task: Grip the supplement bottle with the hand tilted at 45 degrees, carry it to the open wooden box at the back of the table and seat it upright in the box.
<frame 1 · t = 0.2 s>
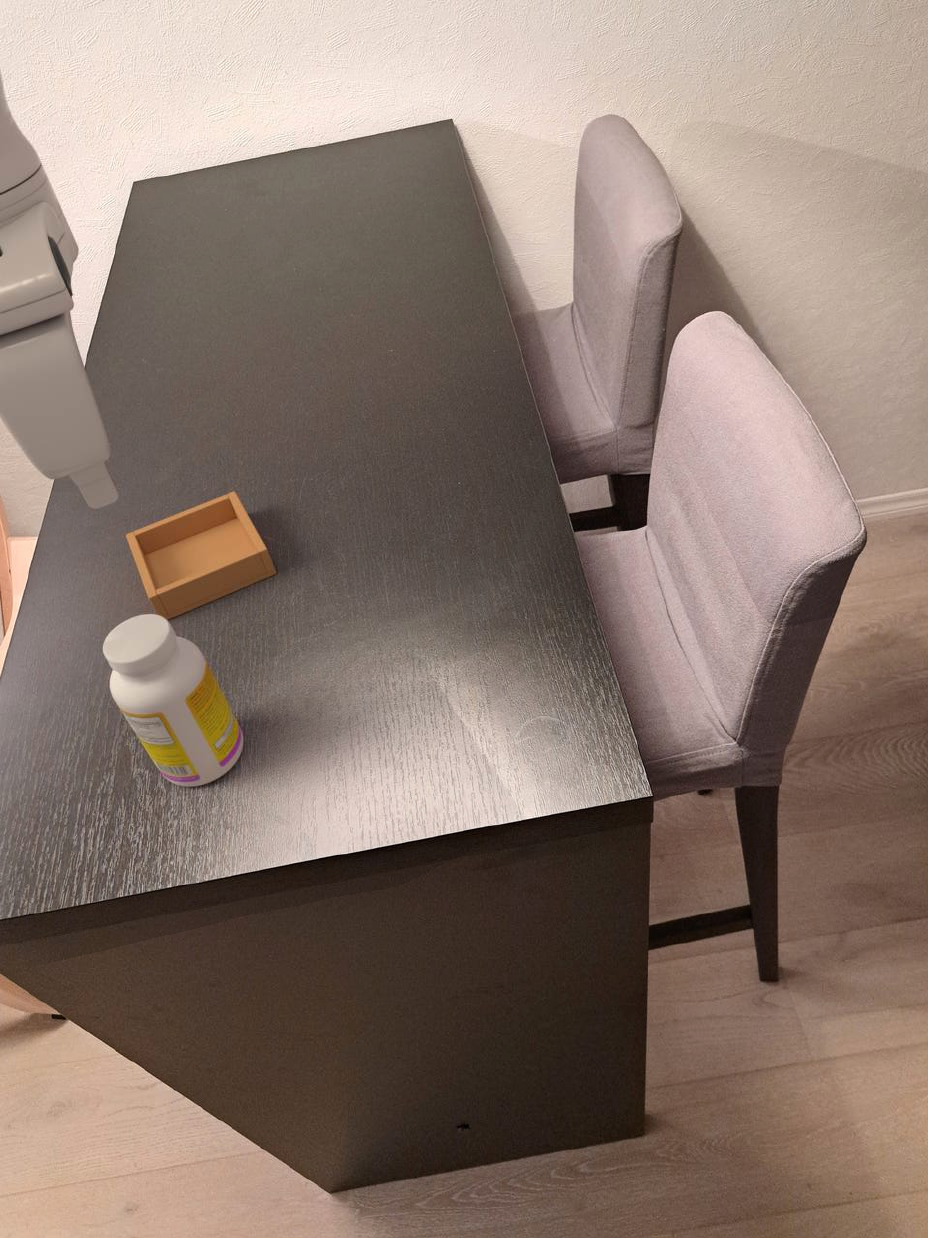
hand: (93, 462, 59), 24 cm above the table, tool pointing down, fingers open, 8 cm apart
open wooden box: (205, 565, 90), on the table
supplement bottle: (204, 756, 72), on the table
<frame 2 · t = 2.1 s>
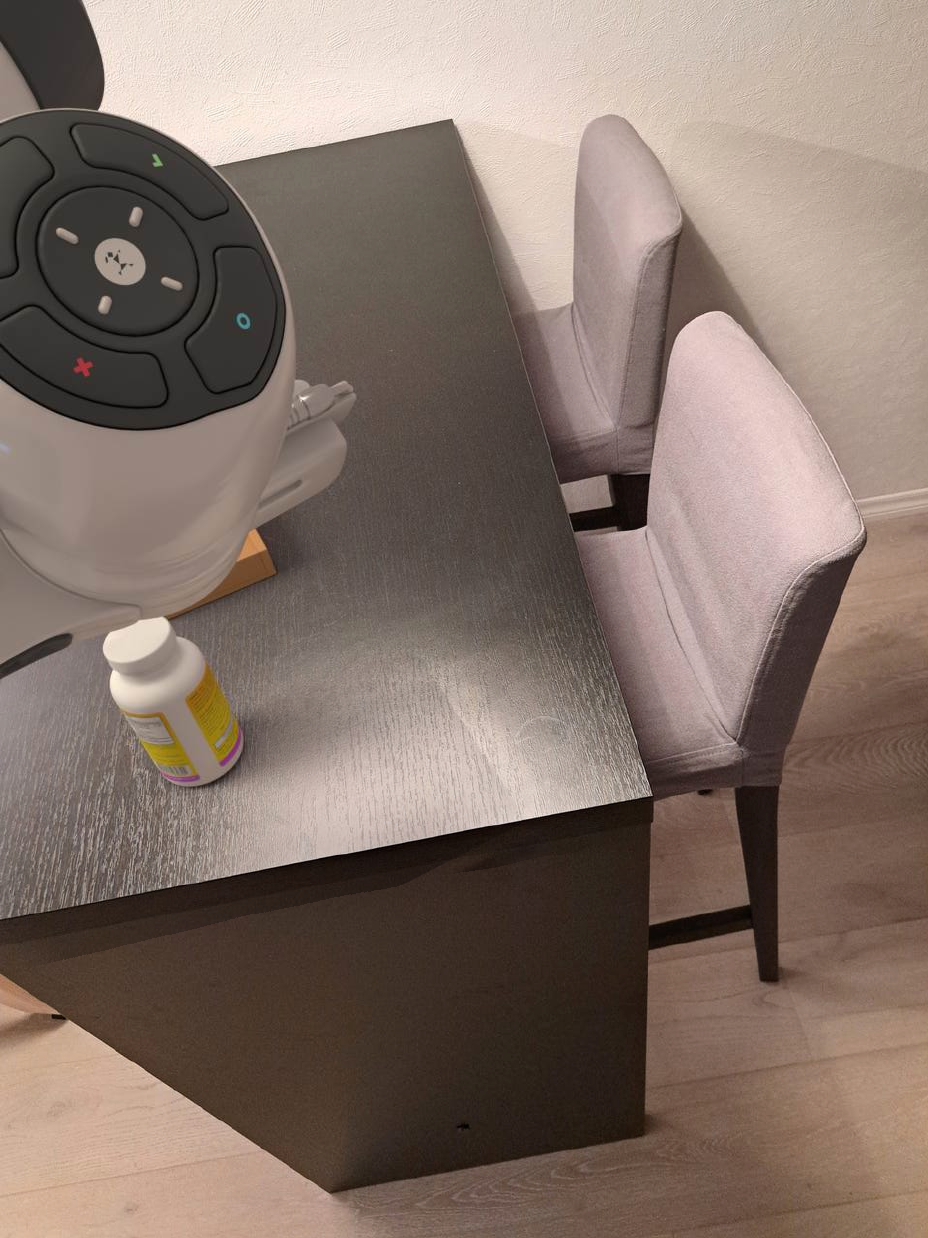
hand: (133, 577, 47), 25 cm above the table, tool tilted 45°, fingers open, 8 cm apart
nothing on the table moved.
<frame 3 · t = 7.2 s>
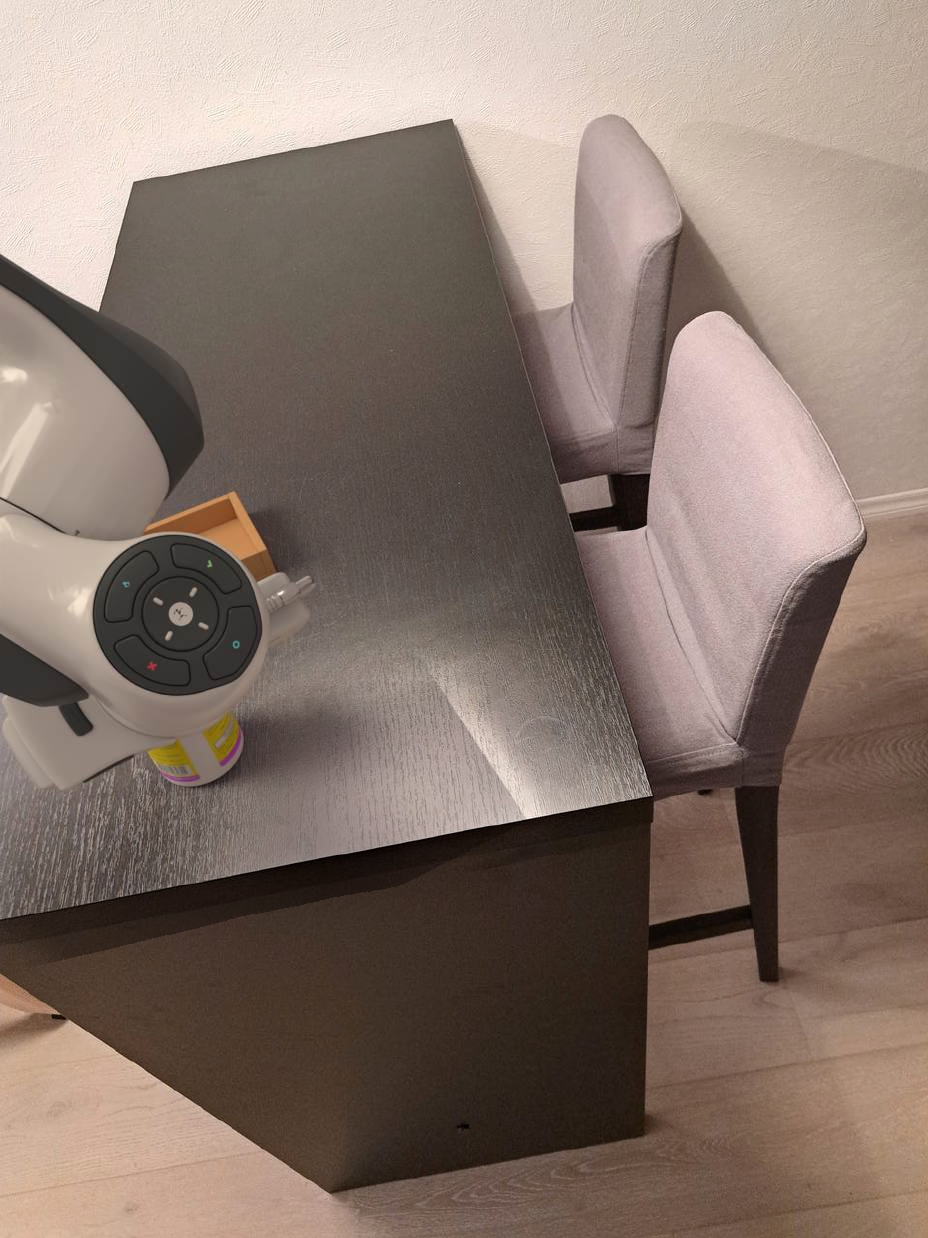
hand: (164, 688, 68), 7 cm above the table, tool tilted 45°, fingers closed on supplement bottle, 6 cm apart
supplement bottle: (204, 756, 72), on the table, touching gripper
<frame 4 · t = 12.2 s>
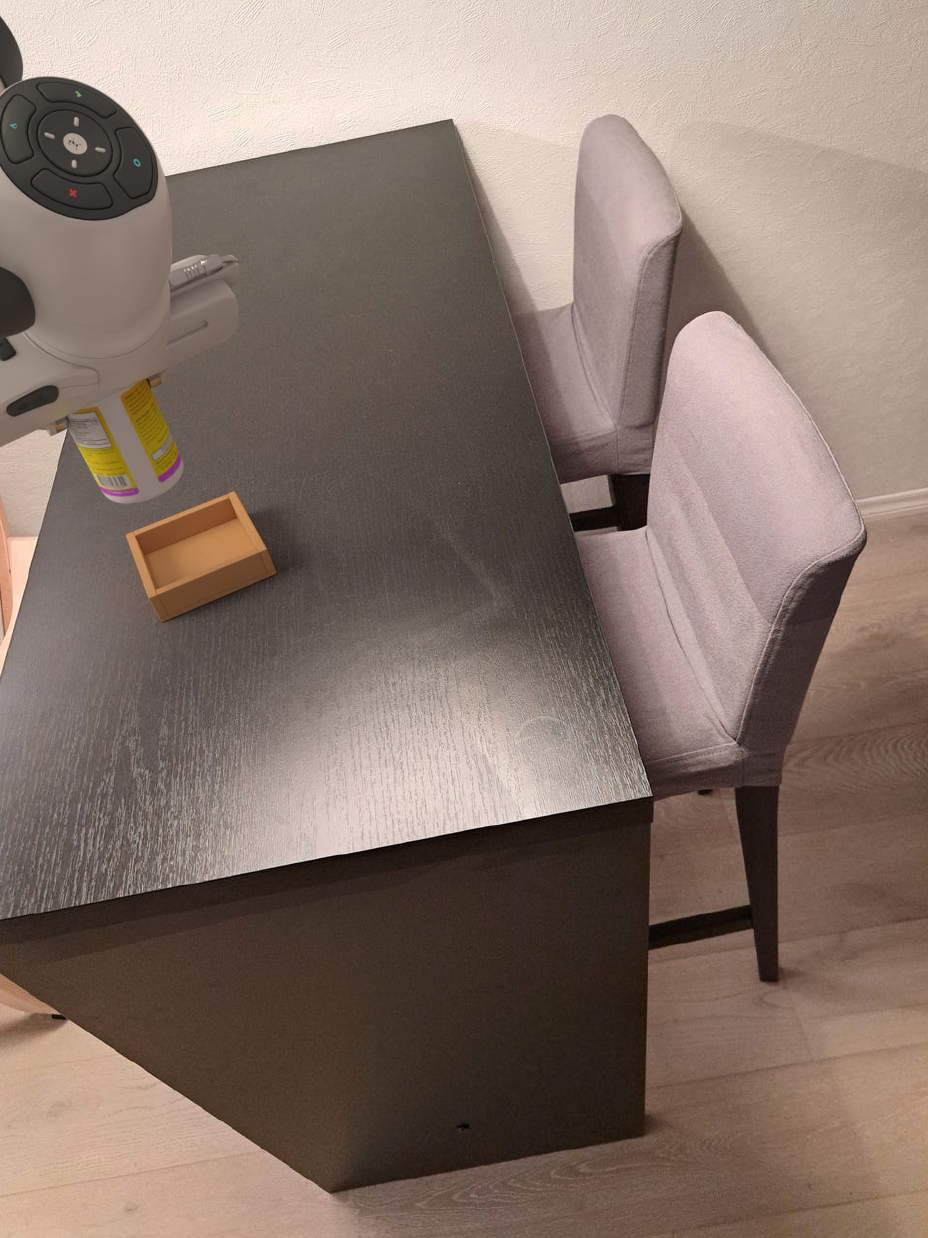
hand: (103, 400, 70), 21 cm above the table, tool tilted 45°, fingers closed on supplement bottle, 6 cm apart
supplement bottle: (146, 484, 75), point 14 cm above the table, touching gripper
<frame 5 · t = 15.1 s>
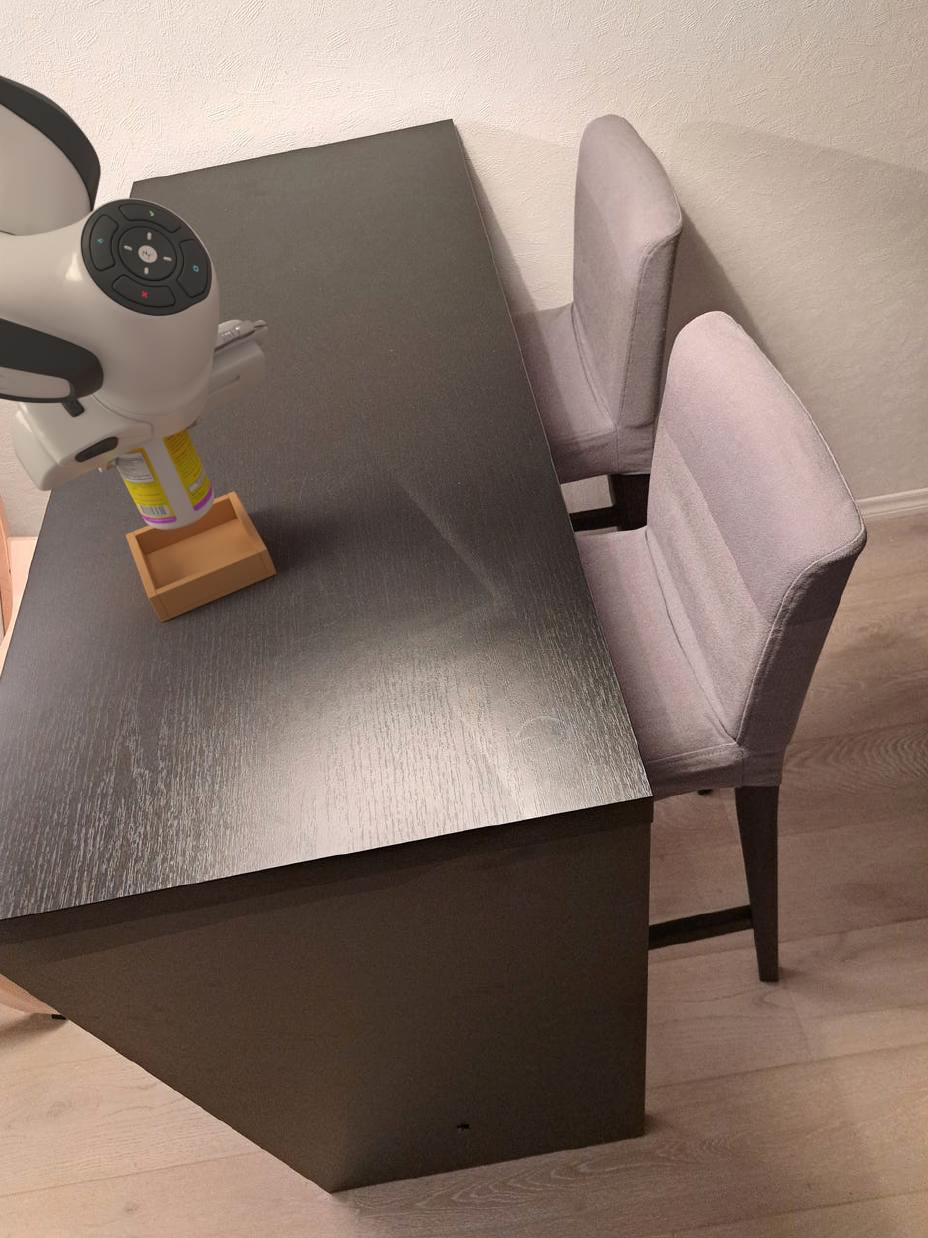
hand: (146, 440, 81), 14 cm above the table, tool tilted 45°, fingers closed on supplement bottle, 6 cm apart
supplement bottle: (181, 511, 85), point 6 cm above the table, touching gripper
when the fingers open (8 cm above the table, at t = 17.4 s): supplement bottle stays where it is, resting on open wooden box.
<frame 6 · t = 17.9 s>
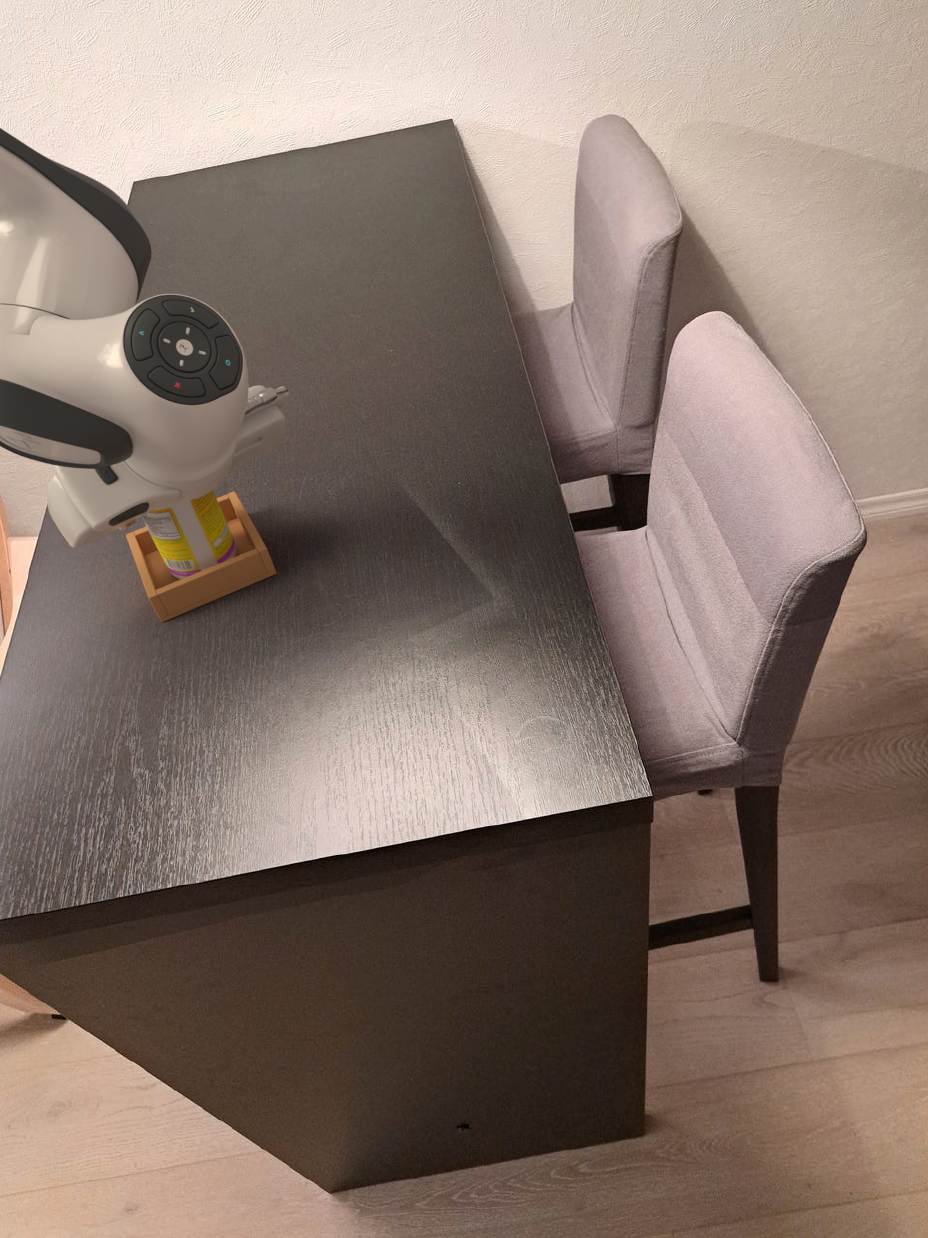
hand: (170, 494, 84), 8 cm above the table, tool tilted 45°, fingers open, 8 cm apart
supplement bottle: (205, 563, 89), resting on open wooden box
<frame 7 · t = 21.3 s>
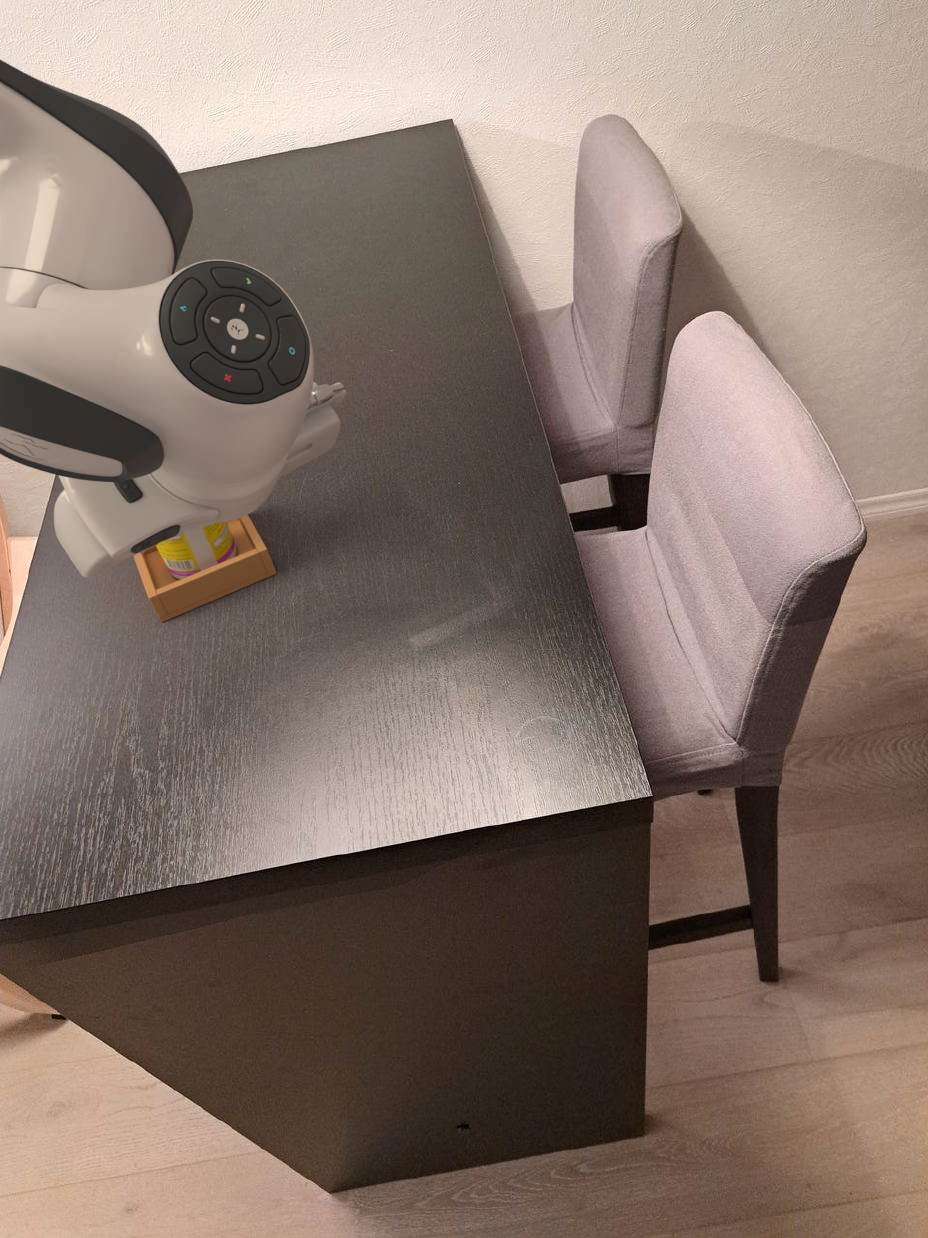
hand: (198, 510, 71), 14 cm above the table, tool tilted 45°, fingers open, 8 cm apart
nothing on the table moved.
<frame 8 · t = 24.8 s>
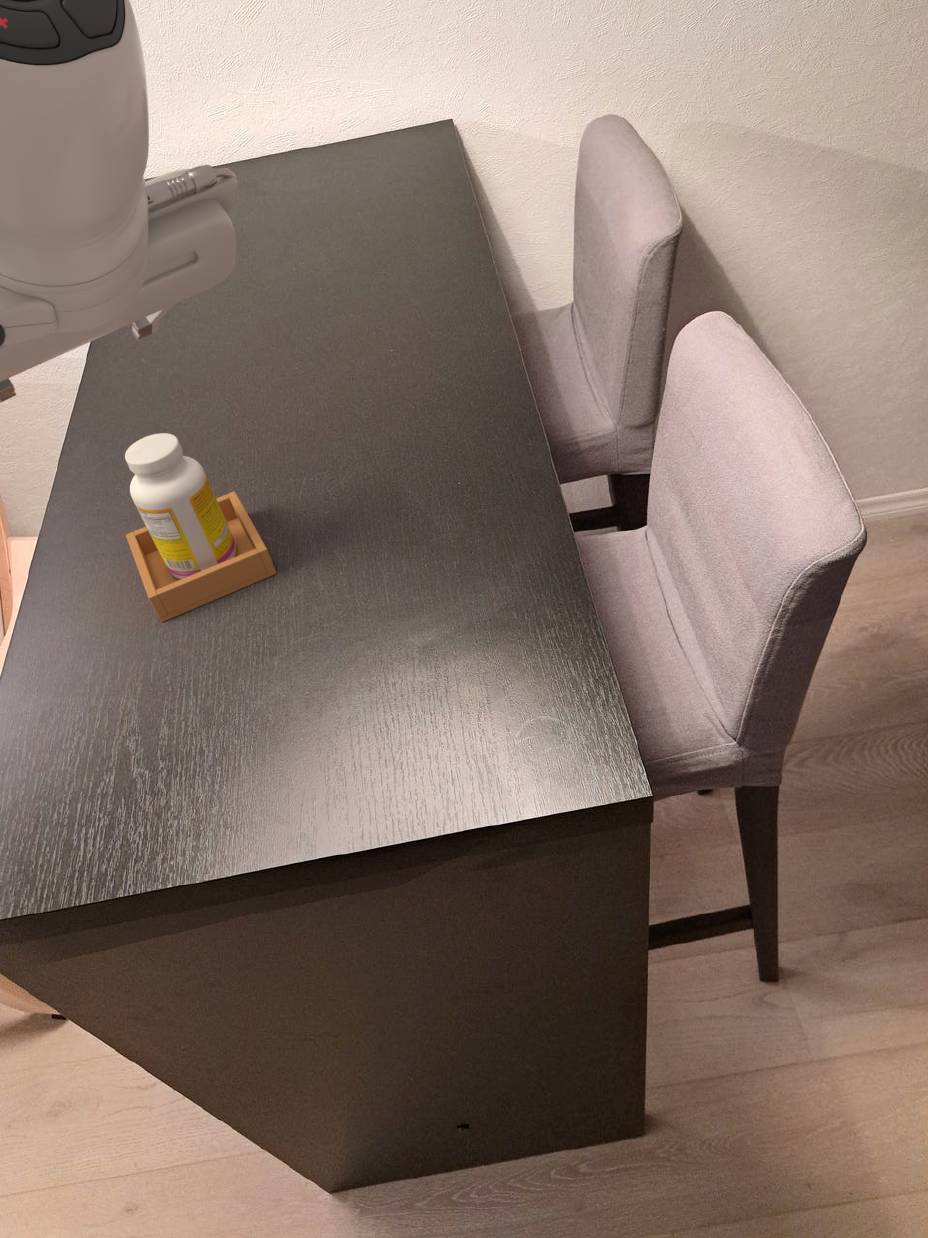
hand: (71, 357, 58), 29 cm above the table, tool tilted 45°, fingers open, 8 cm apart
nothing on the table moved.
at the end: supplement bottle 0.1 cm off-centre in the open wooden box, point 0.3 cm above the open wooden box's base; supplement bottle tilted 0°; the gripper is holding nothing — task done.
